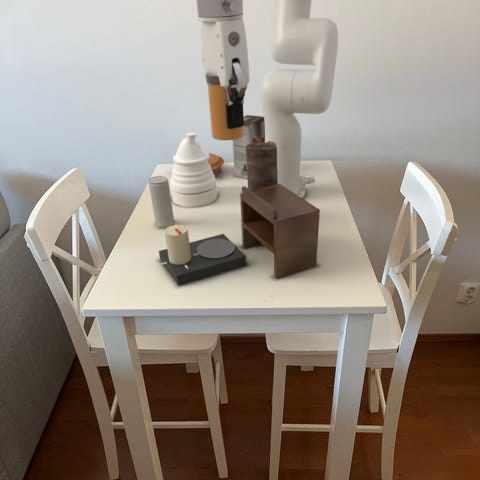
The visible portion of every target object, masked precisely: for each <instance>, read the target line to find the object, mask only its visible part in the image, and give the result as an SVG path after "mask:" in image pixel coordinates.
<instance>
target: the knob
mask: <svg viewBox="0 0 480 480" xmlns="http://www.w3.org/2000/svg"><path fill="white" fill-rule="evenodd" d="M164 237H165V244H166V249H167V250H168V256H169V261H170V262H171V263H172V264H176V265H181V264H185V263H188V262H189V261H190V260H191V252H190V244H189V243H190V239H189V229H188V227H187V226H186V225H183V224H173V225H172V226H169V227H167V228H164Z"/></svg>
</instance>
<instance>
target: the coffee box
mask: <svg viewBox="0 0 480 480" xmlns="http://www.w3.org/2000/svg"><path fill="white" fill-rule="evenodd" d="M250 143H265V123H264V116H260V115H250V114H246V115H245V116H244V136H243V137H241V138H239V139H235V140H232V152H233V154H232V155H233V170H234V177H237V178H242V179H243V178H245V179H248V176H247V161H246V146H247V145H248V144H250Z"/></svg>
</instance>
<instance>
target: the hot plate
mask: <svg viewBox="0 0 480 480" xmlns="http://www.w3.org/2000/svg"><path fill="white" fill-rule="evenodd" d="M212 239H225V240H229V241H231V240H230V239H229V237H227V236H226V235H225V234H224V233H220V234H217V235H212V236H210V237H205V238H201V239H197V240H194V241H191V242H190V241H189V244H190V252H191V260H190V261H189V262H188V263H185V264H181V265H176V264H172V263H171V262H170V261H169V256H168V250H167V248H164V249H161V250H158V256H159V261H160V262H161V263H160V266H162V265H163V266H164V268H165V269H166V271H167V272H168V274H169V276H171V278H172V279H173V281H174V282H175V283H176V285H177V286H179V287H180V286H183V285H187V284H189V283H193V282H196V281H199V280H200V281H201V280H202V279H203V280H204V279H206V278H209V277H213V276H216V275H220V274H223V273H226V272H229V271H233V270H236V269H239V268H243V267H247V255H246V254H245V253H244V251H242V250H241V249H240V248H238V246H237V245H235V251H234V252H233V253H232V254H231V255H229V256H227V257H224V258H220V259H207V258H204V257H201V256H200V255H199V254H198V253H197V247H198V246H199V245H200V244H201V243H203V242H205V241H207V240H212Z"/></svg>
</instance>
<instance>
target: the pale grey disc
mask: <svg viewBox="0 0 480 480" xmlns="http://www.w3.org/2000/svg"><path fill="white" fill-rule="evenodd" d="M229 240H230V239H229ZM229 240H225V239H212V240H207V241H205V242H203V243H201V244H200V245H199V246H198V247H197V253H198V254H199V255H200V256H201V257H204V258H207V259H220V258H224V257H227V256H229V255H231V254H232V253H233V252H234V251H235V246H236V244H235V243H234V242H233V241H232V240H230V241H229Z"/></svg>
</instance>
